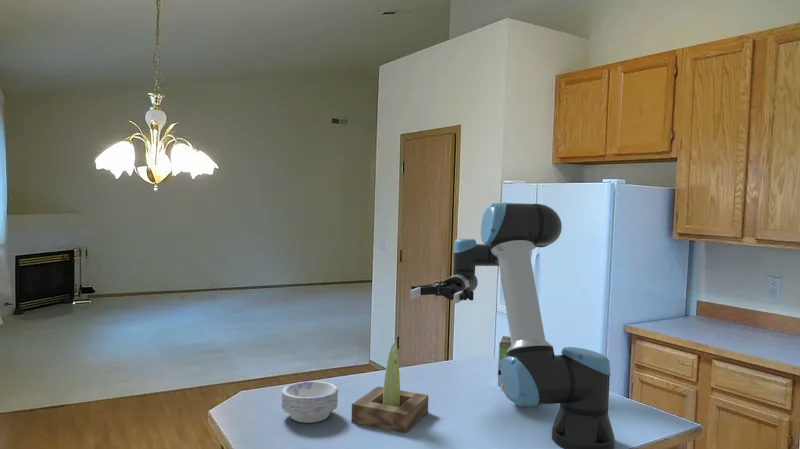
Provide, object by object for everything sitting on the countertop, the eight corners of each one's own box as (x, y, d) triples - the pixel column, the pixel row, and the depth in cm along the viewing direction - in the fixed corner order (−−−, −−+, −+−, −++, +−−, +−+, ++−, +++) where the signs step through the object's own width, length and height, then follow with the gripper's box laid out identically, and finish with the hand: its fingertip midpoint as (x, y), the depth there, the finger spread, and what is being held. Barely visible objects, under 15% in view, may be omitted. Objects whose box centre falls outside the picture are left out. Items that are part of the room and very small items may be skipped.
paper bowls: (306, 403, 162) (307, 376, 162) (348, 414, 154) (348, 386, 154) (269, 419, 149) (269, 390, 149) (313, 432, 141) (313, 402, 141)
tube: (404, 414, 152) (406, 344, 151) (389, 418, 149) (390, 346, 148) (393, 408, 157) (395, 340, 156) (378, 411, 154) (380, 342, 153)
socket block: (427, 412, 157) (428, 395, 157) (406, 433, 142) (406, 414, 142) (377, 403, 163) (377, 386, 163) (351, 422, 149) (351, 403, 149)
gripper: (491, 302, 177) (473, 313, 158) (419, 295, 187) (393, 305, 168) (492, 279, 177) (474, 287, 158) (420, 273, 187) (394, 280, 168)
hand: (432, 296), depth 163 cm, fingers open, 13 cm apart
